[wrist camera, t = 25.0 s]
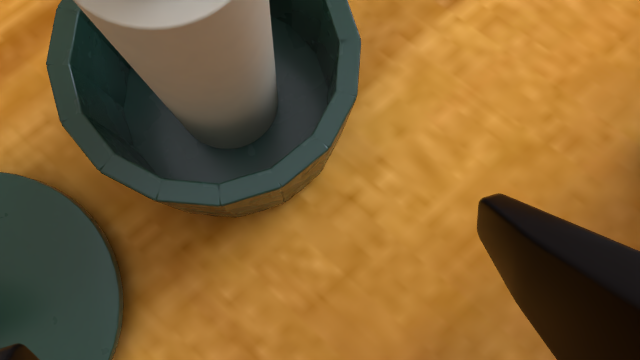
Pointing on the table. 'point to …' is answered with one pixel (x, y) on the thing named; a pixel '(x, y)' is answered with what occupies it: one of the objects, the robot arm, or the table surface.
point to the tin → (175, 140)
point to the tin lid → (55, 275)
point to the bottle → (199, 61)
